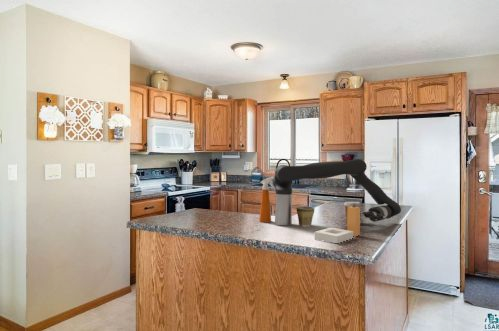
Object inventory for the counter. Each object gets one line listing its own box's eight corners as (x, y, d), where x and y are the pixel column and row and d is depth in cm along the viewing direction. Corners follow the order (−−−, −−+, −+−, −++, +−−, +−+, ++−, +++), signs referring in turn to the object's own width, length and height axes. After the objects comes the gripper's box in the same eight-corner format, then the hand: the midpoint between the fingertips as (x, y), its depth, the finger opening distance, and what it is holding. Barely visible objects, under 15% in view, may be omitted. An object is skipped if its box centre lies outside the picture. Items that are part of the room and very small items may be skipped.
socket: (337, 244, 153) (337, 236, 153) (314, 239, 162) (314, 231, 162) (353, 238, 163) (353, 231, 163) (331, 234, 172) (331, 227, 172)
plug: (355, 237, 166) (355, 204, 166) (346, 235, 169) (347, 203, 169) (359, 235, 169) (360, 203, 169) (351, 234, 172) (352, 202, 172)
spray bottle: (272, 223, 197) (273, 177, 196) (256, 221, 203) (257, 176, 202) (278, 221, 203) (279, 176, 202) (263, 219, 209) (263, 176, 208)
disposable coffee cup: (353, 225, 194) (354, 204, 193) (340, 222, 201) (340, 202, 201) (364, 223, 199) (364, 202, 199) (350, 220, 207) (351, 200, 206)
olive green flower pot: (314, 228, 186) (314, 209, 186) (295, 227, 188) (295, 208, 188) (314, 223, 199) (314, 205, 199) (297, 222, 201) (297, 205, 201)
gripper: (365, 205, 192) (350, 208, 181) (390, 208, 182) (376, 211, 170) (365, 218, 192) (349, 222, 181) (390, 222, 182) (376, 226, 171)
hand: (362, 217), depth 176 cm, fingers open, 8 cm apart
